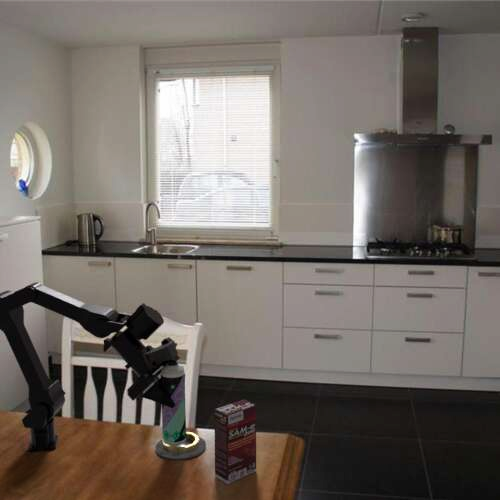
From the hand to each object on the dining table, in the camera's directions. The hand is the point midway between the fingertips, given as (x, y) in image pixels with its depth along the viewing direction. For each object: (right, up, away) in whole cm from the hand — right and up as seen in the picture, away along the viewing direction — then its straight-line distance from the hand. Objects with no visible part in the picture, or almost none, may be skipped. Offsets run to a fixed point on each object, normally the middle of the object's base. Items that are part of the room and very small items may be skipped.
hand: (179, 401), depth 147 cm
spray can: (-1, -10, +2) cm, 10 cm away
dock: (0, -13, +6) cm, 14 cm away
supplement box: (+13, -15, -7) cm, 21 cm away
